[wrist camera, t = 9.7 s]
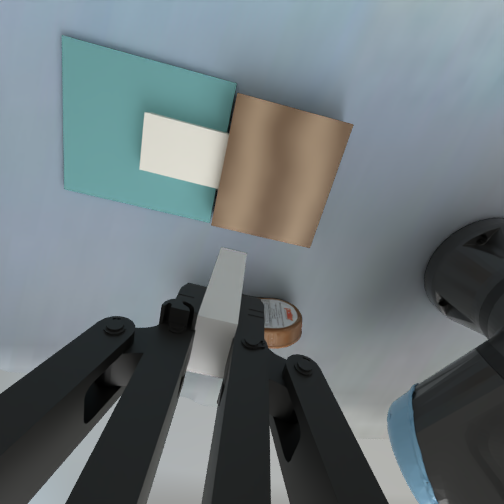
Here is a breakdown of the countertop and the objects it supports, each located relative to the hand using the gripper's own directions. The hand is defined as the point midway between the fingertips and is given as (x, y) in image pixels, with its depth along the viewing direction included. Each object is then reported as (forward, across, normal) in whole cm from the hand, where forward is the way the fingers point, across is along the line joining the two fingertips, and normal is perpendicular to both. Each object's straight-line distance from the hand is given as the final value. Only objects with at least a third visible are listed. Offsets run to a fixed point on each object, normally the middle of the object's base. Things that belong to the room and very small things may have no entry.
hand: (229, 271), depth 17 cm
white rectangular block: (+21, +8, -3) cm, 22 cm away
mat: (+21, +13, -3) cm, 25 cm away
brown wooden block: (+22, -3, -3) cm, 22 cm away
